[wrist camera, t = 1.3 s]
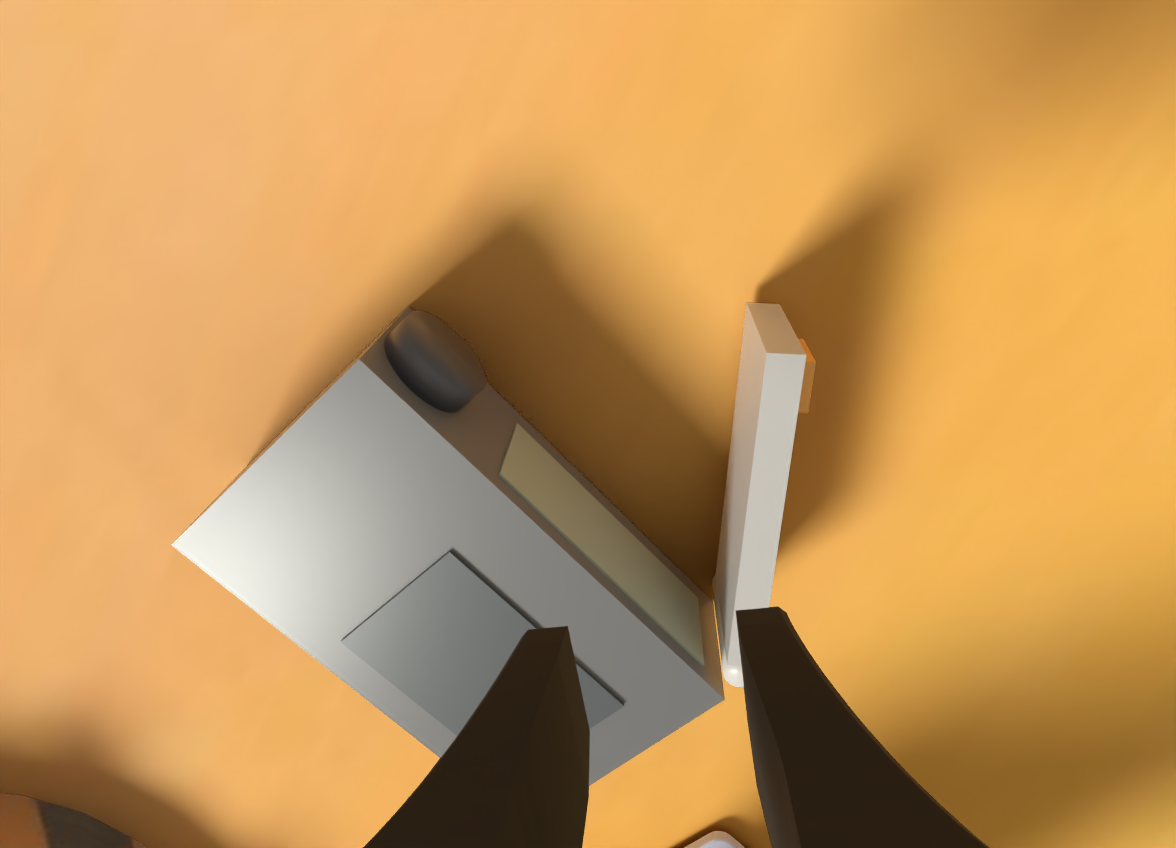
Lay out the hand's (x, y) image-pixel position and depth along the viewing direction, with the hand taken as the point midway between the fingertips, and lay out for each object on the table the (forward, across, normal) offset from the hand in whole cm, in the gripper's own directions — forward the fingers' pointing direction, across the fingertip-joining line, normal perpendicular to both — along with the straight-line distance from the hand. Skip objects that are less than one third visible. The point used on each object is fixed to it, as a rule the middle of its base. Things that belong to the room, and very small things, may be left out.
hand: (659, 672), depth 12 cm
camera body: (+10, +5, +4) cm, 12 cm away
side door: (+10, -2, +2) cm, 11 cm away
